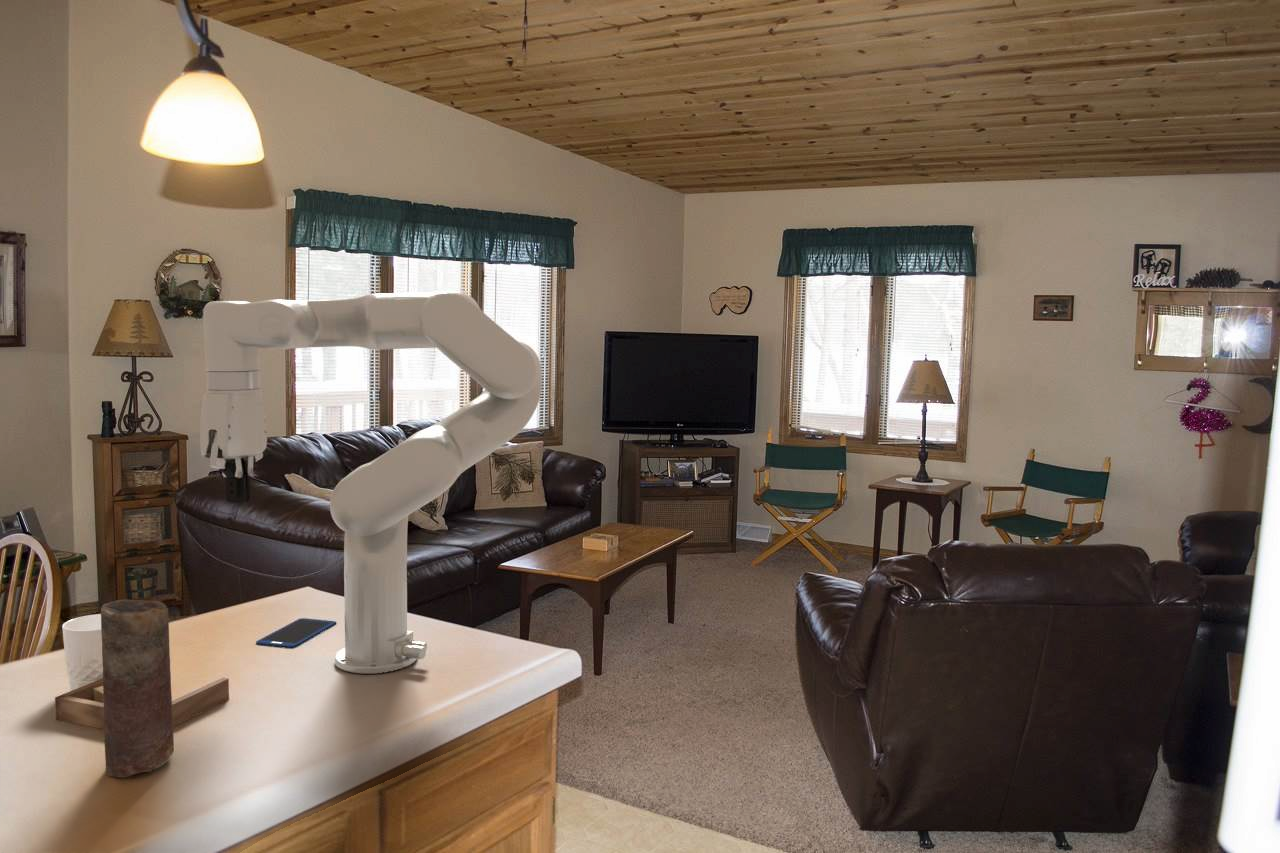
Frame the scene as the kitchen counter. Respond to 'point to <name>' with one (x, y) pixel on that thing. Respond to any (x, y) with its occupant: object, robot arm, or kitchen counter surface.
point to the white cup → (83, 650)
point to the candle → (136, 686)
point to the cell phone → (296, 633)
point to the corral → (91, 713)
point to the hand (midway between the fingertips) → (239, 501)
